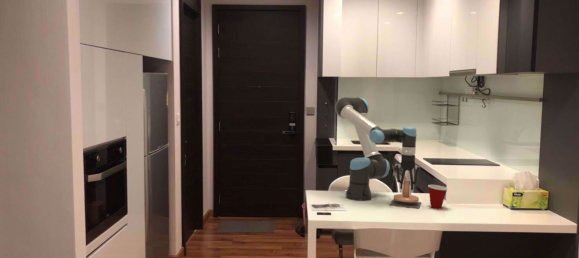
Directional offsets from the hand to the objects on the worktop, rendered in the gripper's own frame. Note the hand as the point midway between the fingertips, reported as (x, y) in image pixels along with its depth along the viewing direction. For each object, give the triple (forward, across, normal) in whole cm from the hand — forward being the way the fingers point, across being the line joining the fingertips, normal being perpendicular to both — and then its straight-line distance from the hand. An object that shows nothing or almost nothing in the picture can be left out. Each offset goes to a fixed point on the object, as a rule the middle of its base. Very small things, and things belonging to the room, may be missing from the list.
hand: (406, 195), depth 283 cm
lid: (+2, 0, 0) cm, 2 cm away
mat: (+5, 0, 0) cm, 5 cm away
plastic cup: (+6, +17, +1) cm, 18 cm away
